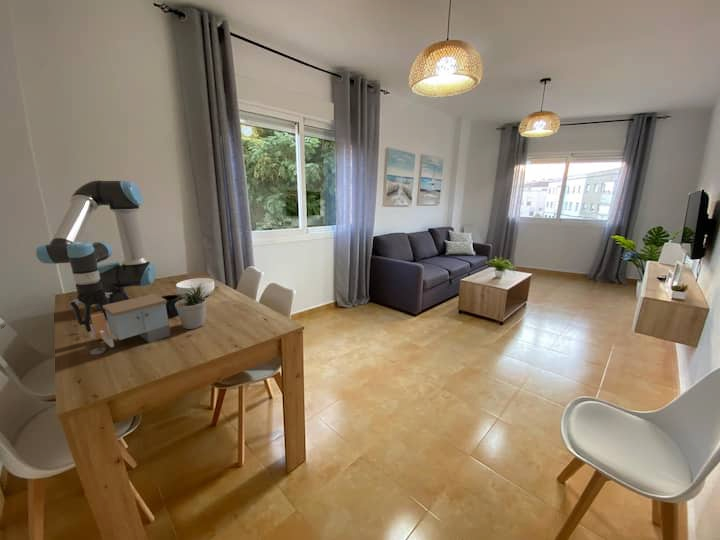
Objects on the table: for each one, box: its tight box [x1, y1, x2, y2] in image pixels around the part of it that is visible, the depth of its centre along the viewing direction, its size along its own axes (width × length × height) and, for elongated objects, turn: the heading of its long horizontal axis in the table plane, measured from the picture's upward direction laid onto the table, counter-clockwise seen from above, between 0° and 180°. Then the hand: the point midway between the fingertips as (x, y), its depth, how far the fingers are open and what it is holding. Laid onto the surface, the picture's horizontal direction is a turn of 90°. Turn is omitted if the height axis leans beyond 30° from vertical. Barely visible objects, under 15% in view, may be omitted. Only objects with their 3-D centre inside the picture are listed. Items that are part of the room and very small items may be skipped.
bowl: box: [175, 277, 215, 299], centre depth 174 cm, size 20×20×8 cm
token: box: [89, 346, 107, 356], centre depth 113 cm, size 4×4×1 cm
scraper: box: [90, 311, 115, 348], centre depth 118 cm, size 16×4×10 cm, turn 54°
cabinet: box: [102, 293, 171, 344], centre depth 121 cm, size 14×18×16 cm
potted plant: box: [175, 284, 208, 330], centre depth 134 cm, size 13×14×20 cm
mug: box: [161, 294, 180, 319], centre depth 146 cm, size 9×12×9 cm
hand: (101, 335), depth 122 cm, fingers closed on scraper, 4 cm apart
